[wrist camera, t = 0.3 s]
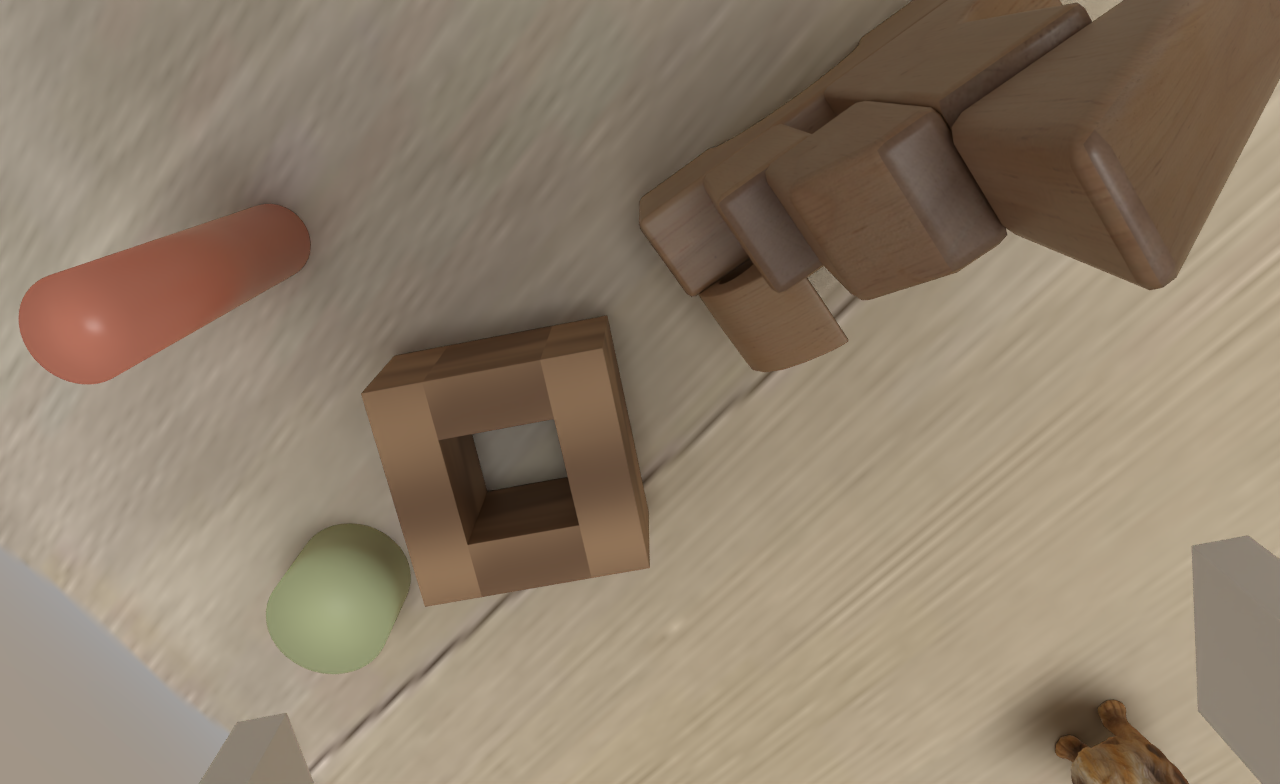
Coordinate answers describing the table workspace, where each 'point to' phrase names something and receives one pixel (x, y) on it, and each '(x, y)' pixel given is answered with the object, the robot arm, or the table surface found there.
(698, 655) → the table surface
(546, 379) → the square wooden frame
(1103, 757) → the lion figurine
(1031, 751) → the table surface
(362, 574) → the olive green rounded piece
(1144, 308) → the table surface
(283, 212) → the pink capsule rod
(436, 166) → the table surface
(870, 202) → the wooden toy
